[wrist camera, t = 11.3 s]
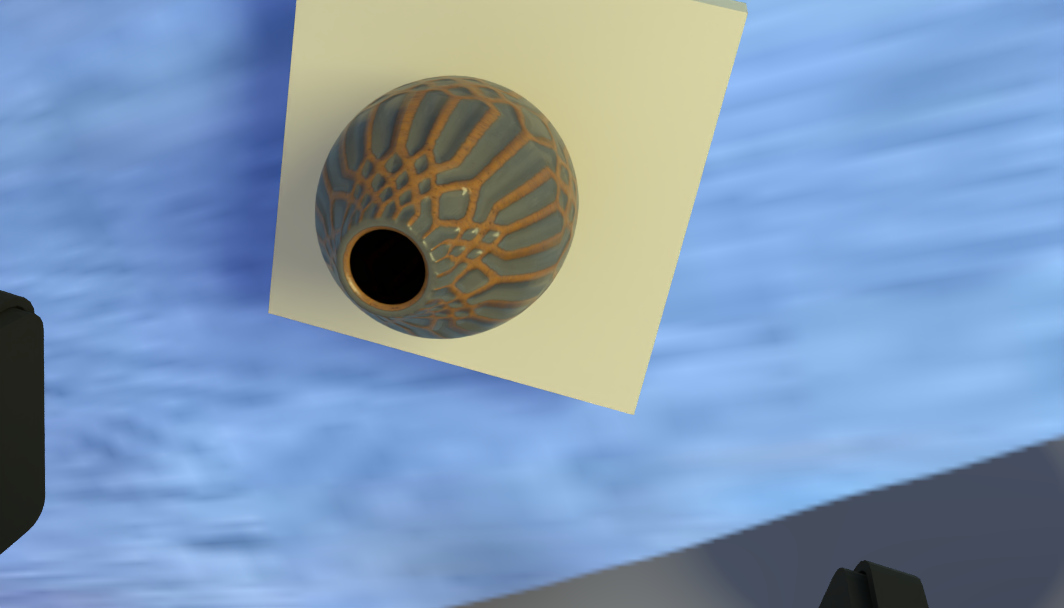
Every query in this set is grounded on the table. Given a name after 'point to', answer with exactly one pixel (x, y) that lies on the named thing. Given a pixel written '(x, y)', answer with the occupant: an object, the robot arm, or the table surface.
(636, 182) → the plinth
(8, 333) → the robot arm
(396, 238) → the vase
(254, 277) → the table surface
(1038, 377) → the table surface
